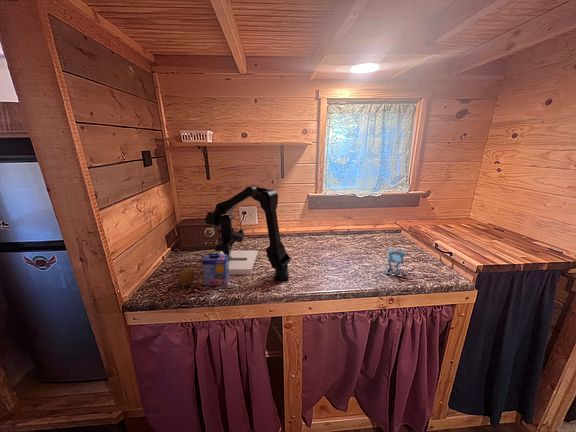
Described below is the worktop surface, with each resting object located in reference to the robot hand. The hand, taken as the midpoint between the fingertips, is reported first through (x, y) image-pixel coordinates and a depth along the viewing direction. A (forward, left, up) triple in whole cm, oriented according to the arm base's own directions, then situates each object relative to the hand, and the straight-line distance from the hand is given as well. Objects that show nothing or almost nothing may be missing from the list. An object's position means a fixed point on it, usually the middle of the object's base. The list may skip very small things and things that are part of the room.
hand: (228, 256), depth 115 cm
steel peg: (0, 0, -4) cm, 4 cm away
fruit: (-19, +13, -4) cm, 23 cm away
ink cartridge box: (-16, +1, -4) cm, 17 cm away
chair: (-6, -80, -4) cm, 80 cm away
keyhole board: (0, -3, -4) cm, 5 cm away
